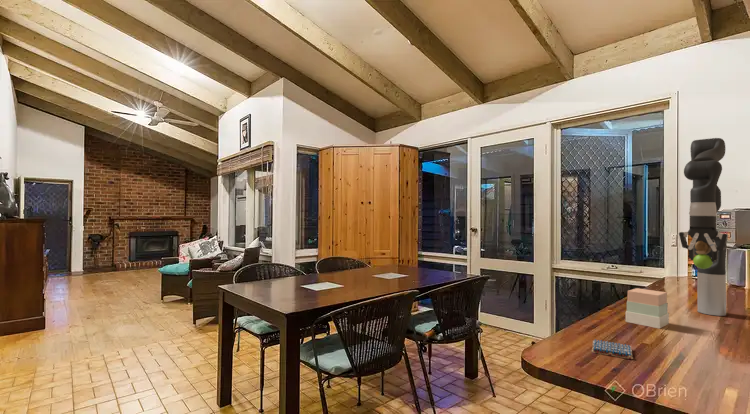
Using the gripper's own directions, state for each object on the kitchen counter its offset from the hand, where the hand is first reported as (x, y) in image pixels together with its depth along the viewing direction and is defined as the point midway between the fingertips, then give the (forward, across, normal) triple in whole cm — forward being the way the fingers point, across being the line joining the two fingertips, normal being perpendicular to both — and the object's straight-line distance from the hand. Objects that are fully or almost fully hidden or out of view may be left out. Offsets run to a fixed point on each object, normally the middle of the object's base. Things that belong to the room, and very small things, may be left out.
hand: (702, 260), depth 139 cm
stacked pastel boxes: (+25, +16, +7) cm, 30 cm away
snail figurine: (+3, 0, 0) cm, 3 cm away
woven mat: (+26, +11, +53) cm, 60 cm away
